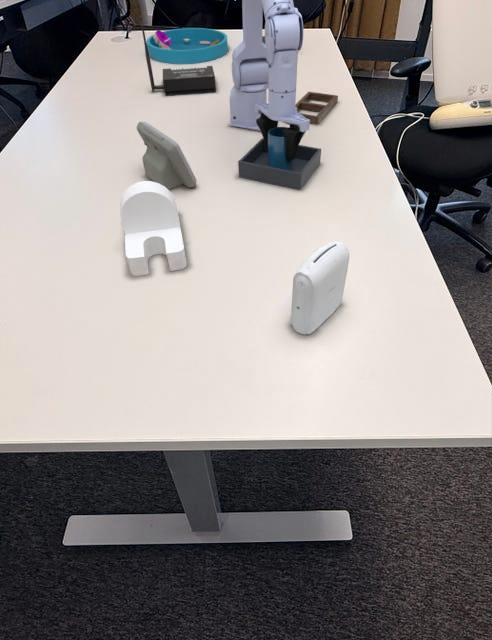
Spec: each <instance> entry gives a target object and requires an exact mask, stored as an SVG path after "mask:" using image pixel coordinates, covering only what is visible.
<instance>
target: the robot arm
mask: <svg viewBox="0 0 492 640" xmlns="http://www.w3.org/2000/svg"><path fill="white" fill-rule="evenodd" d="M241 8H242V9H241V10H242V42H241V43H239V44H238V45H237V46H236V47H235V48H234V49H233V50H232V54H231V55H232V56H231V59H232V61H231V76H232V83H233V85H232V87H231V89H230V92H229V93H230V94H229V113H230V114H229V115H230V116H229V117H230V123H229V126H230V127H236V128H241V129H247V130H252V131H259V132H260V133H261V135H262V138H263V139H264V143H265V147H266V151H267V152H268V131H269V130H270V129H272V128H274V127H279V126H278V125H279V122H280V123H282V124H286V125H288V126H289V127H288V126H287V127H288V128H286V129H284V130H282V133H283V135H284V139H285V146H286V161H288V162H289V161H291V160H293V159H295V155H296V152H297V149H298V146H299V145H300V143H301V140H302V139H303V137H304V135H305V133H306V132H307V131H309V130H310V124H311V123H310V120H309V119H307V118H305V117H304V116H302V115H301V114H300V113H301V112H300V111H298V112H297V107H295V105H296V103H297V102H296V99H297V79H298V78H297V77H298V61H299V60H298V58H299V52H298V51H301V50H302V47H303V44H304V22H303V16H302V14H301V12H299V9H298V8H297V7H295V4H294V0H241ZM263 16H264V21H265V22H264V36H265V44H264V43H263V42H262V36H263ZM267 91H268V92H267Z"/></svg>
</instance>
